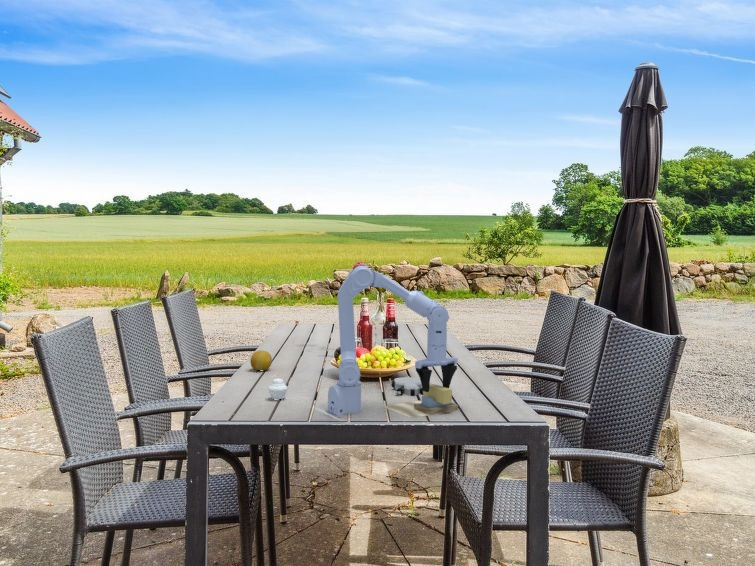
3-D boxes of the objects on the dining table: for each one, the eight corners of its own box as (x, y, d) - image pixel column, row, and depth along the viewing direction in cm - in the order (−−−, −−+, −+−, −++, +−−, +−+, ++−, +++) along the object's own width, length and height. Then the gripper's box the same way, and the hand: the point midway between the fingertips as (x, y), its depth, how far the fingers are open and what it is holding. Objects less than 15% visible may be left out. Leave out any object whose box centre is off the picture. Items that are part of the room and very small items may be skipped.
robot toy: (431, 401, 207) (423, 388, 222) (431, 388, 206) (423, 375, 221) (394, 402, 206) (388, 388, 220) (394, 388, 205) (389, 376, 220)
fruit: (269, 373, 247) (269, 352, 246) (248, 372, 247) (248, 352, 246) (273, 368, 255) (273, 349, 255) (253, 368, 256) (253, 349, 255)
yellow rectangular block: (423, 397, 192) (423, 384, 191) (430, 395, 193) (431, 383, 193) (443, 404, 183) (443, 390, 183) (451, 402, 185) (451, 389, 185)
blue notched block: (442, 406, 193) (442, 393, 193) (450, 409, 189) (450, 396, 189) (421, 409, 188) (421, 396, 188) (429, 412, 185) (429, 399, 185)
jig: (411, 421, 179) (411, 412, 179) (381, 409, 192) (381, 401, 192) (459, 413, 189) (460, 404, 189) (428, 402, 202) (428, 394, 202)
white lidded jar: (266, 398, 206) (266, 376, 205) (284, 396, 208) (284, 375, 208) (270, 402, 200) (270, 380, 199) (289, 400, 202) (289, 379, 202)
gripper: (425, 348, 181) (424, 395, 181) (464, 345, 188) (463, 389, 189) (411, 345, 186) (410, 390, 187) (449, 342, 194) (448, 385, 195)
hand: (436, 390), depth 189 cm, fingers open, 7 cm apart
